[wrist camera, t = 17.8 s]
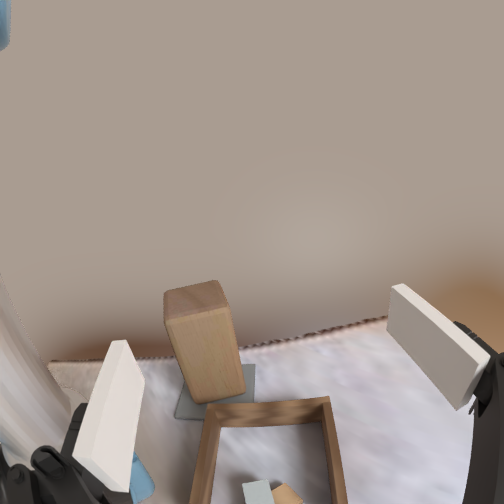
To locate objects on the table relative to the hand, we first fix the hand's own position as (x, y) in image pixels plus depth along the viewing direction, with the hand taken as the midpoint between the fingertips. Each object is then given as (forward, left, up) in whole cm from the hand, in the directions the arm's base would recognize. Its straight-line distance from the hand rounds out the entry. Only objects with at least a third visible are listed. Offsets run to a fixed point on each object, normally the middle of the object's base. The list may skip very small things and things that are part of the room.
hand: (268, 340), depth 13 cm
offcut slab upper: (-3, +1, -32) cm, 32 cm away
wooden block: (-13, +27, -33) cm, 45 cm away
